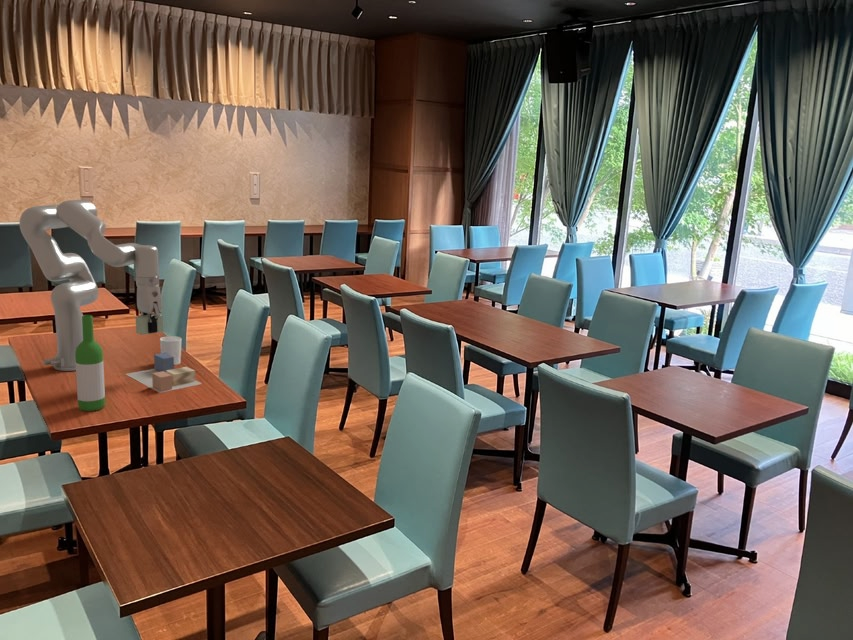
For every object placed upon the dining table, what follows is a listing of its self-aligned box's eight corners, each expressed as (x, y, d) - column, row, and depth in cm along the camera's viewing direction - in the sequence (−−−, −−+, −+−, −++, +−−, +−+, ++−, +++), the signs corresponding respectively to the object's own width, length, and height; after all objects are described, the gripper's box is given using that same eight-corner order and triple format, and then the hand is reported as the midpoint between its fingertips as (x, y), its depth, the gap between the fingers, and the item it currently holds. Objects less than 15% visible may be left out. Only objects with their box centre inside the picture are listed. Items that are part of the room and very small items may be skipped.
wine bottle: (91, 413, 212) (86, 319, 206) (72, 409, 215) (67, 316, 208) (110, 406, 220) (107, 315, 213) (92, 402, 222) (87, 311, 215)
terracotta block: (161, 391, 235) (160, 377, 234) (152, 386, 239) (152, 373, 238) (172, 389, 238) (171, 375, 237) (163, 384, 242) (163, 371, 241)
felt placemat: (159, 393, 234) (159, 392, 234) (125, 374, 251) (125, 373, 250) (202, 384, 245) (202, 383, 245) (166, 366, 262) (166, 366, 262)
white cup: (177, 367, 263) (177, 341, 261) (157, 365, 263) (156, 340, 261) (185, 361, 271) (184, 336, 268) (165, 360, 271) (164, 335, 268)
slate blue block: (173, 372, 256) (173, 357, 254) (163, 374, 253) (163, 358, 251) (164, 367, 260) (164, 352, 259) (154, 369, 257) (154, 354, 256)
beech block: (174, 385, 242) (174, 374, 241) (166, 381, 246) (165, 370, 245) (195, 381, 248) (195, 370, 247) (186, 377, 251) (186, 366, 251)
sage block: (141, 334, 241) (140, 318, 240) (136, 332, 243) (135, 316, 242) (163, 331, 247) (162, 315, 245) (157, 329, 249) (157, 313, 248)
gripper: (169, 283, 238) (171, 334, 242) (146, 276, 249) (148, 325, 253) (148, 285, 233) (150, 337, 237) (126, 278, 244) (128, 328, 248)
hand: (149, 330), depth 245 cm, fingers closed on sage block, 4 cm apart
